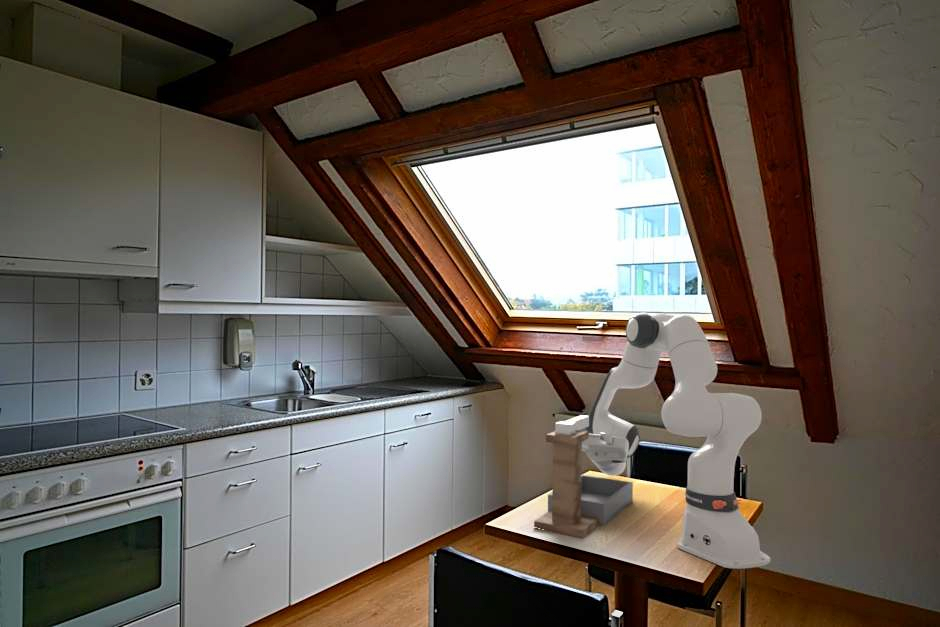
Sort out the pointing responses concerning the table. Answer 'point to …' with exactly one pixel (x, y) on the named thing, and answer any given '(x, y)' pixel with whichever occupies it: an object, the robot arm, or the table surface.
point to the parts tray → (602, 497)
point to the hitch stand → (567, 488)
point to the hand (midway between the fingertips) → (587, 433)
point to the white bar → (571, 425)
